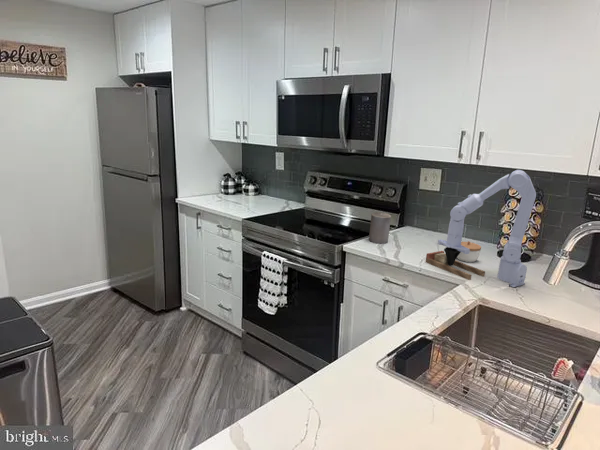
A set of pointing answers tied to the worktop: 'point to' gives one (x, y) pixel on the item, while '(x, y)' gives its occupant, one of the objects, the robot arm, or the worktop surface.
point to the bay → (430, 260)
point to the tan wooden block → (441, 258)
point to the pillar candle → (379, 228)
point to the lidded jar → (472, 254)
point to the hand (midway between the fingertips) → (450, 265)
